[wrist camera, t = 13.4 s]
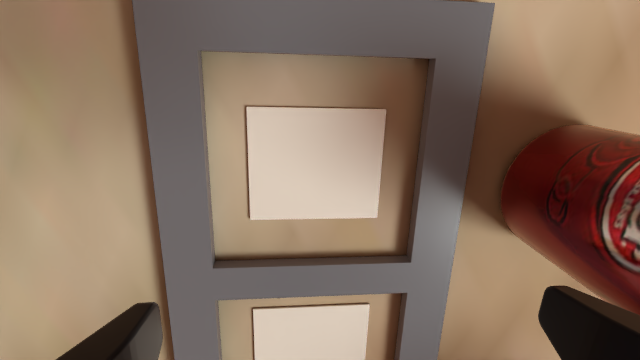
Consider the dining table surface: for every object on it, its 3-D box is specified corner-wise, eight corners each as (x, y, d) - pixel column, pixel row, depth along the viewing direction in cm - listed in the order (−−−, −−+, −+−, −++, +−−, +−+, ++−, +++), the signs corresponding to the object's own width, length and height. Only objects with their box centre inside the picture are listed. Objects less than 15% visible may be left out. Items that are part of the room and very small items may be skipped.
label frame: (422, 412, 25) (427, 422, 24) (187, 430, 23) (184, 442, 23) (485, 5, 17) (495, 3, 16) (137, -13, 16) (130, -17, 15)
